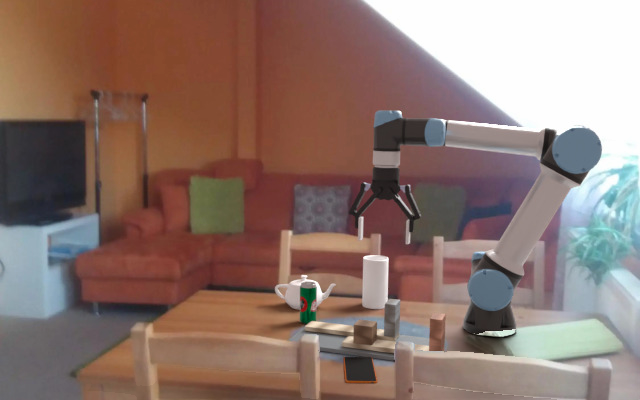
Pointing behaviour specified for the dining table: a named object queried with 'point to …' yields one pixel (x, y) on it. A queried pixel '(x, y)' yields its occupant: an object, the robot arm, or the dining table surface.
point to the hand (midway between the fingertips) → (383, 241)
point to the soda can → (308, 302)
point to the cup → (375, 281)
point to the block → (365, 332)
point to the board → (335, 345)
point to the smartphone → (359, 370)
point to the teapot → (294, 292)
